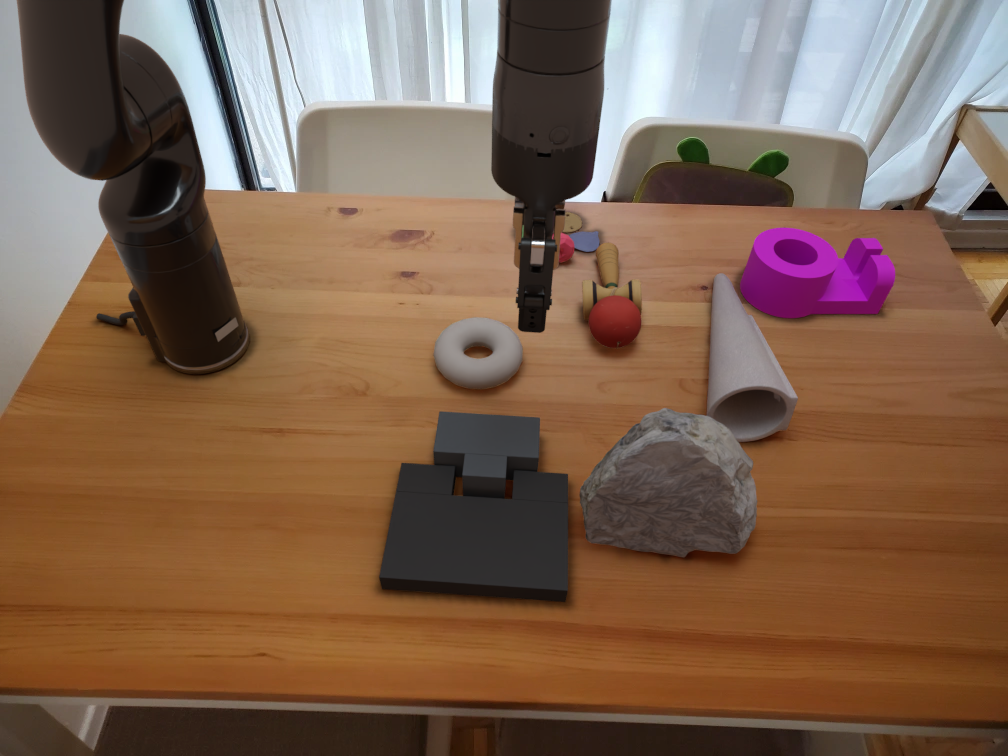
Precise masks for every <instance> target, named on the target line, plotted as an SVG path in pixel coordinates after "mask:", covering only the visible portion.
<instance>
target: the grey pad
mask: <svg viewBox="0 0 1008 756" xmlns="http://www.w3.org/2000/svg"><path fill="white" fill-rule="evenodd" d="M436 424H437V425H436V431H435V436H434V442H433V449H432V453H433V454H432V455H433V465H444V466H455V468H456V478H461V479H462V480H461V481H462V483H461V484H462V496H471V497H486V498H501V499H506V485H507V481H513V476H514V470H519V471H534V472H539V462H540V442H541V441H540V439H541V437H540V435H541V416H540V417H539V416H524V415H509V414H508V415H507V414H492V413H491V414H490V413H475V412H473V413H472V412H458V411H442V410H441V411H440V410H439V412H438V417H437V423H436Z"/></svg>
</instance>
